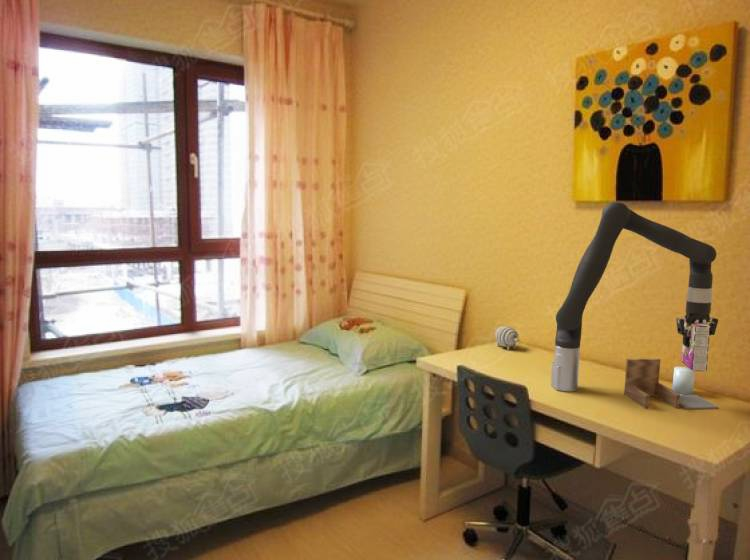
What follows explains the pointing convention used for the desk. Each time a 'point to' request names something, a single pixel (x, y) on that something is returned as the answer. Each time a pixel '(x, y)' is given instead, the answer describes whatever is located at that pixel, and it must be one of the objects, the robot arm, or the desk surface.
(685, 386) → the white rounded cylinder
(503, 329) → the toy sheep
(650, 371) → the walnut bay
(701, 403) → the rubber pad
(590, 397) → the desk surface
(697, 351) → the candy bar box
